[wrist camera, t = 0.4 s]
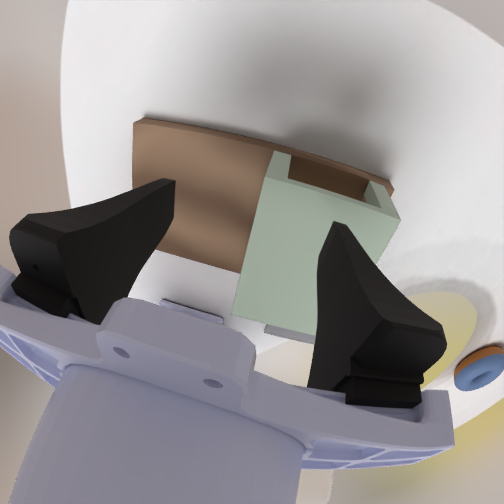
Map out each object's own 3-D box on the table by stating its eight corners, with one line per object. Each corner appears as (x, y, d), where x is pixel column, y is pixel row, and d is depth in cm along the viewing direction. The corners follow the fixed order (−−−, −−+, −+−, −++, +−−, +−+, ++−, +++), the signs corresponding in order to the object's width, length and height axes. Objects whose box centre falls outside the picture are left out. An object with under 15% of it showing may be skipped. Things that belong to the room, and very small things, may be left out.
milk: (289, 424, 55) (271, 528, 35) (339, 427, 53) (328, 530, 33) (285, 436, 62) (269, 524, 42) (328, 439, 60) (317, 527, 40)
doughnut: (446, 383, 36) (453, 404, 33) (456, 352, 32) (465, 376, 28) (491, 364, 34) (499, 383, 30) (505, 330, 29) (516, 352, 25)
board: (335, 287, 27) (335, 298, 26) (142, 234, 28) (135, 243, 26) (389, 181, 20) (394, 189, 19) (143, 118, 20) (133, 122, 19)
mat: (333, 345, 33) (333, 348, 33) (264, 330, 33) (263, 332, 33) (367, 300, 28) (368, 302, 27) (285, 278, 28) (285, 281, 27)
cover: (336, 299, 26) (337, 340, 22) (242, 275, 26) (230, 314, 23) (395, 190, 18) (414, 225, 15) (274, 150, 19) (264, 176, 15)
